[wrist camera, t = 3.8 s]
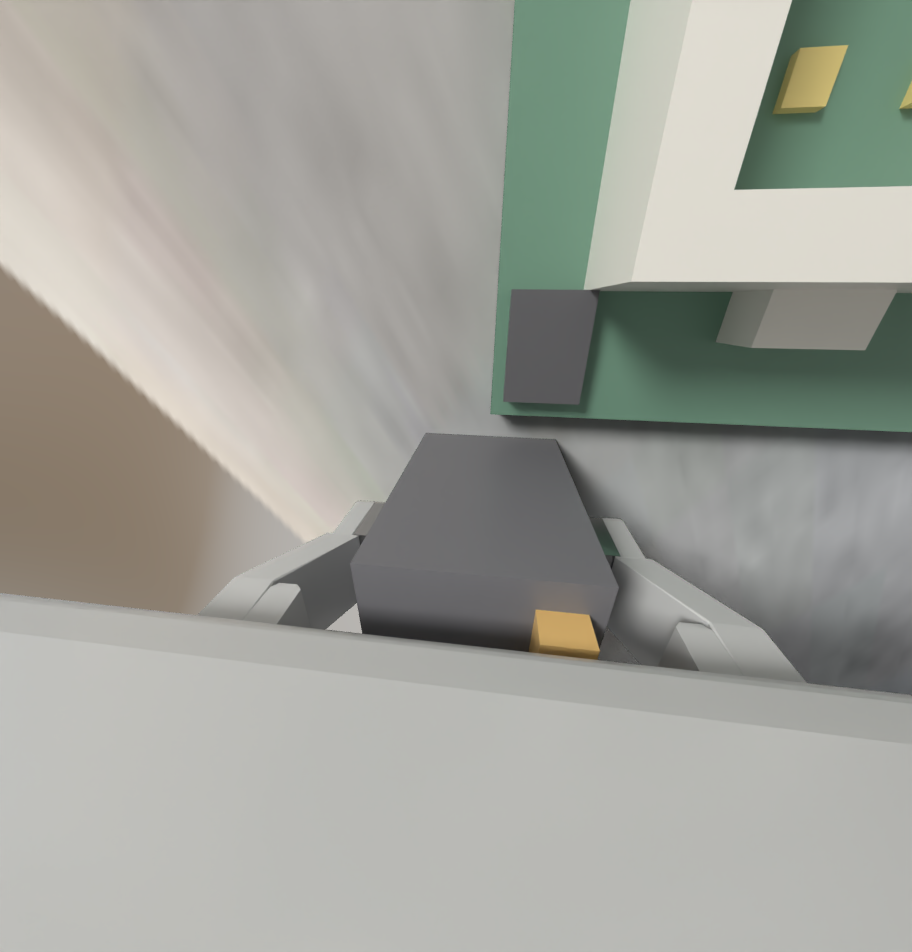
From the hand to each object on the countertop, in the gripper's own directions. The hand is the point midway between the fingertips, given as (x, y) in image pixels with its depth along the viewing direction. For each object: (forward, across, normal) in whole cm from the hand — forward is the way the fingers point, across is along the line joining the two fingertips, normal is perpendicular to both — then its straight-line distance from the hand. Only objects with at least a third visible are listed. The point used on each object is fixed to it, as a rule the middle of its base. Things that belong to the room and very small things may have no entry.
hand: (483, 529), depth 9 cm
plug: (+2, 0, 0) cm, 2 cm away
